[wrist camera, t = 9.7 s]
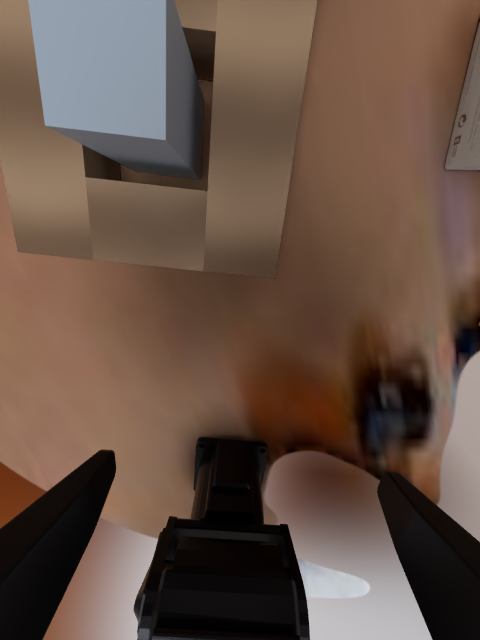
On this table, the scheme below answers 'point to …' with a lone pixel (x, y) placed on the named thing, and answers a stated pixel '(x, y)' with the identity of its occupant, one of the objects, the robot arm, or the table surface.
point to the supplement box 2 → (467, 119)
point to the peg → (121, 81)
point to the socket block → (161, 201)
